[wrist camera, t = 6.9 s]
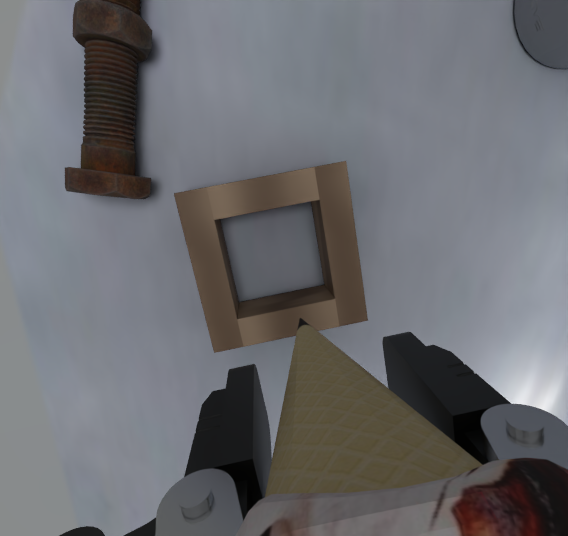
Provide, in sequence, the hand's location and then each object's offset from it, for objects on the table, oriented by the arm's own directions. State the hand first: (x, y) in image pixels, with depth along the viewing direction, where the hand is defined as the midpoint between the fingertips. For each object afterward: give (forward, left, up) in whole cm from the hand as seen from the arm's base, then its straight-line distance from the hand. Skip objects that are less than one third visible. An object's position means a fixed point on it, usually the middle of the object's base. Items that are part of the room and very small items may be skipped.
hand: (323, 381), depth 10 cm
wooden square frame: (0, 0, -20) cm, 20 cm away
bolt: (+9, -14, -21) cm, 26 cm away
